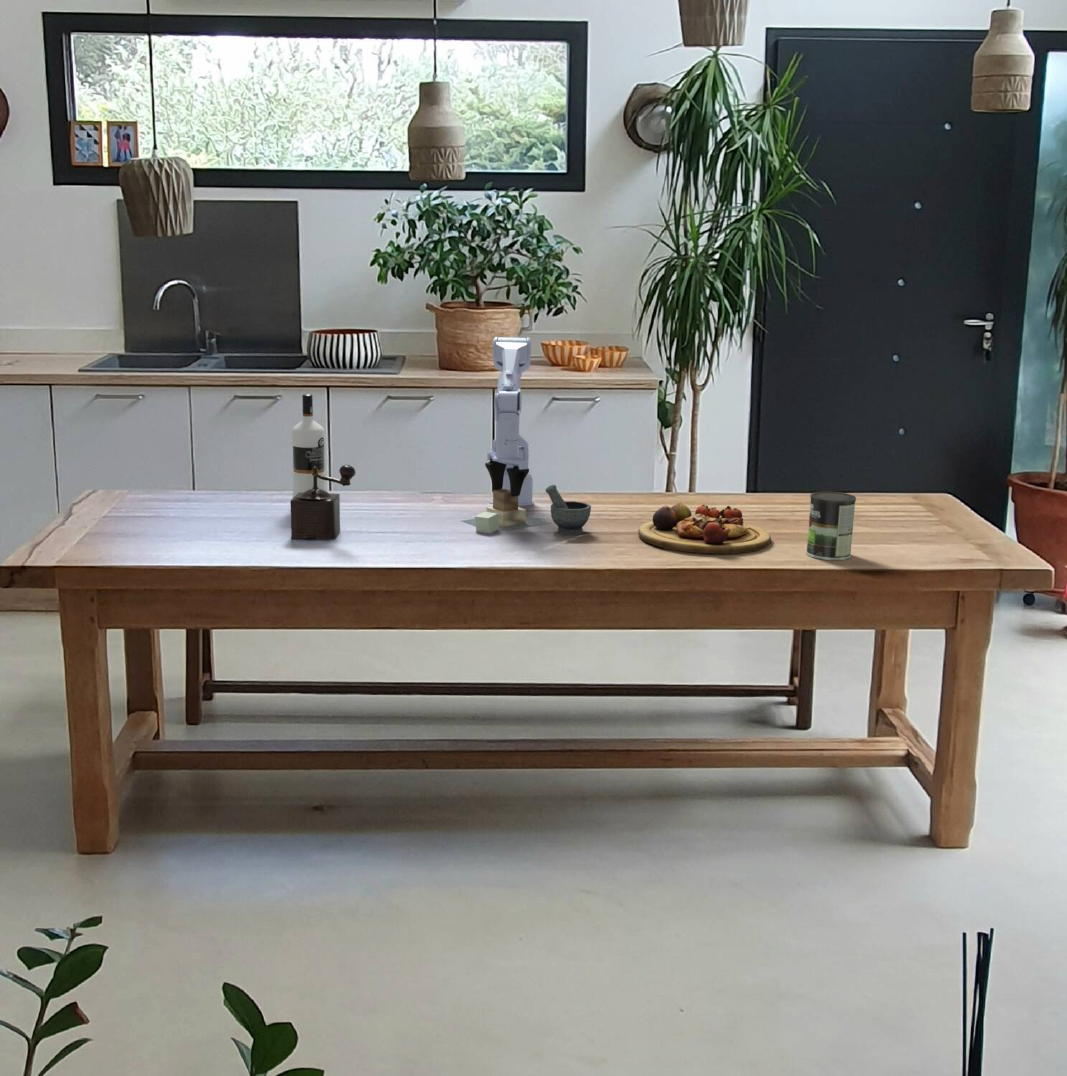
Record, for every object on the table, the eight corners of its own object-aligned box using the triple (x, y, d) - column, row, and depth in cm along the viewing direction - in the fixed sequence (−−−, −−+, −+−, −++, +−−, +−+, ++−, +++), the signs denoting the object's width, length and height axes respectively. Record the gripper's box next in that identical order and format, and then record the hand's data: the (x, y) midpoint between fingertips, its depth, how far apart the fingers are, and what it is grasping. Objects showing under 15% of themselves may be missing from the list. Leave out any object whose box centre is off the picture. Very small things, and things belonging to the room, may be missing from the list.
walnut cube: (507, 505, 339) (507, 488, 338) (518, 509, 336) (518, 491, 334) (492, 508, 336) (493, 490, 335) (503, 511, 333) (503, 493, 332)
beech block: (509, 517, 342) (509, 504, 341) (525, 523, 336) (525, 509, 335) (486, 520, 338) (486, 507, 337) (502, 526, 332) (502, 512, 331)
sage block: (485, 527, 331) (484, 511, 329) (499, 529, 328) (497, 513, 327) (476, 532, 327) (474, 516, 326) (489, 533, 325) (488, 518, 324)
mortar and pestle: (587, 528, 334) (588, 480, 331) (593, 537, 325) (594, 488, 322) (542, 528, 333) (543, 480, 330) (546, 537, 324) (548, 488, 321)
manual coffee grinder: (289, 540, 316) (287, 465, 311) (298, 529, 327) (296, 456, 322) (355, 542, 315) (354, 466, 311) (362, 531, 326) (361, 458, 322)
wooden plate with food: (768, 561, 308) (771, 525, 306) (629, 549, 314) (631, 515, 312) (772, 531, 338) (774, 499, 337) (646, 522, 344) (647, 490, 342)
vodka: (307, 504, 353) (305, 390, 345) (335, 509, 348) (333, 393, 341) (283, 511, 345) (281, 394, 338) (312, 516, 340) (309, 397, 333)
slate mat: (518, 513, 348) (518, 512, 348) (551, 524, 337) (551, 523, 337) (460, 522, 337) (460, 520, 337) (492, 533, 326) (492, 532, 326)
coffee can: (813, 560, 308) (817, 500, 304) (800, 549, 318) (805, 491, 314) (857, 560, 309) (862, 500, 305) (843, 549, 319) (848, 491, 315)
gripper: (477, 436, 335) (476, 489, 339) (511, 445, 324) (510, 500, 327) (500, 433, 339) (499, 486, 343) (534, 442, 328) (533, 497, 331)
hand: (506, 493), depth 335 cm, fingers open, 7 cm apart
